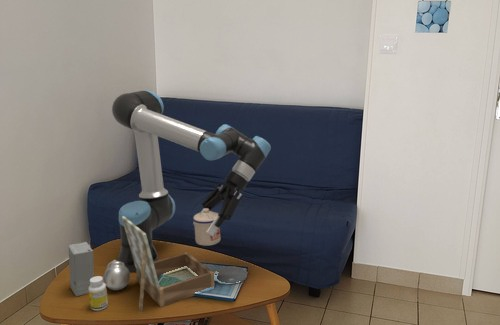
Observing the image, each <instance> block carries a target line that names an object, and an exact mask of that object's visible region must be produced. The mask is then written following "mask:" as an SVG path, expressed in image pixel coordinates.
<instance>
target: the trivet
mask: <svg viewBox="0 0 500 325" xmlns="http://www.w3.org/2000/svg"><path fill="white" fill-rule="evenodd" d="M215 271H217V272H219V273H218V276H217V279H218V280H219V281H221V282H225V283H236V282H239V281H242V282H241V283H244V282H245V281H246V280H247V277H248V272H247V271H246V269H244V268H242V267H239V266H233V265H232V266H223V267H221V268H218V269H216V270H215ZM215 275H217V274H215Z"/></svg>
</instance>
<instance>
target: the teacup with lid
mask: <svg viewBox="0 0 500 325" xmlns="http://www.w3.org/2000/svg"><path fill="white" fill-rule="evenodd" d="M202 209H203V208H202ZM201 211H202V210H201ZM201 211H200V212H198V213H195V215H194V216H193V218H192V220H193V223H194V224H193V226H194V236H195V237H194V238H195V243H196V244H197V245H199V246H213V245H216V244H218V243H219V242H220V241H221V238H222V237H221V226H220V227H219V228H218V229H217V231H216V232H215V234H214V235H213V236H211V235H210V234H208V233H207V232H206V231H207V230H208V228H209V227H210V225H211V224H212V223H213V221H214V220H215V218H216V217H217V216H218V214H219V213H218V212H217V211H212V210H210V211H209V209H208V208H205V209H203V211H202V212H201Z"/></svg>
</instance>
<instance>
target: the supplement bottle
mask: <svg viewBox="0 0 500 325" xmlns="http://www.w3.org/2000/svg"><path fill="white" fill-rule="evenodd" d="M88 289H89V293H88V297H89V305H90V309H91V310H93V311H102V310H104V309H106V308H107V307H108V306H109V301H108V300H109V299H108V291H107V286H106V284H105V282H104V276H100V275H97V276H95V275H94V277H92V278H91V279H90V286H89V288H88Z"/></svg>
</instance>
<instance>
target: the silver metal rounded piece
mask: <svg viewBox="0 0 500 325" xmlns="http://www.w3.org/2000/svg"><path fill="white" fill-rule="evenodd" d="M130 280H131V272H129V270H128V268H127V267H126V266H125V265H124V263H123V262H121V261H118V259H113V260H112V261H110V262H109V263H108V264H107V266H106V270H105V271H104V274H103V283H105V284H106V288H108V289H110V290H113V291H119V290H123V289H124V288H126V287H128V286H127V285H128V284H129V283H130Z"/></svg>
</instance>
